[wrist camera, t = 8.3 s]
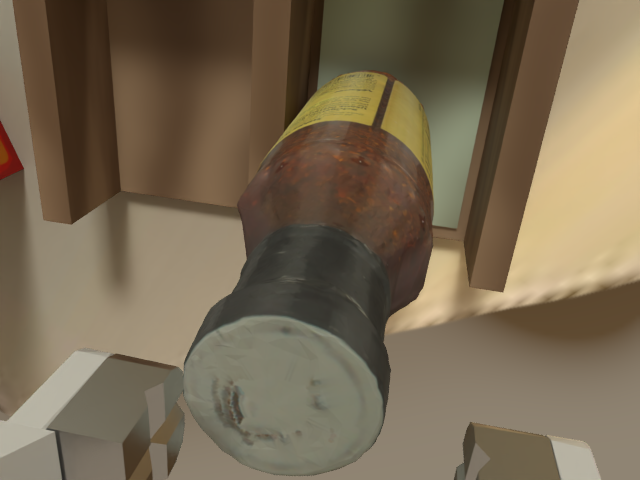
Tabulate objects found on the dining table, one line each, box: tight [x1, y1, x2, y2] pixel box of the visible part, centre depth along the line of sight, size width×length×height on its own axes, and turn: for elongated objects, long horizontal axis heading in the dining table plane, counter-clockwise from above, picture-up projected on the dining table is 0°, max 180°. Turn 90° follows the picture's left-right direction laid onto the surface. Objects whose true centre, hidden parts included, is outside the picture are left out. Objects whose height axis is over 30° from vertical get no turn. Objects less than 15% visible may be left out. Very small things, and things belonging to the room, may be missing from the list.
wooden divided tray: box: [13, 0, 579, 292], centre depth 26 cm, size 22×15×6 cm, turn 85°
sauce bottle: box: [183, 70, 434, 476], centre depth 19 cm, size 7×6×20 cm
